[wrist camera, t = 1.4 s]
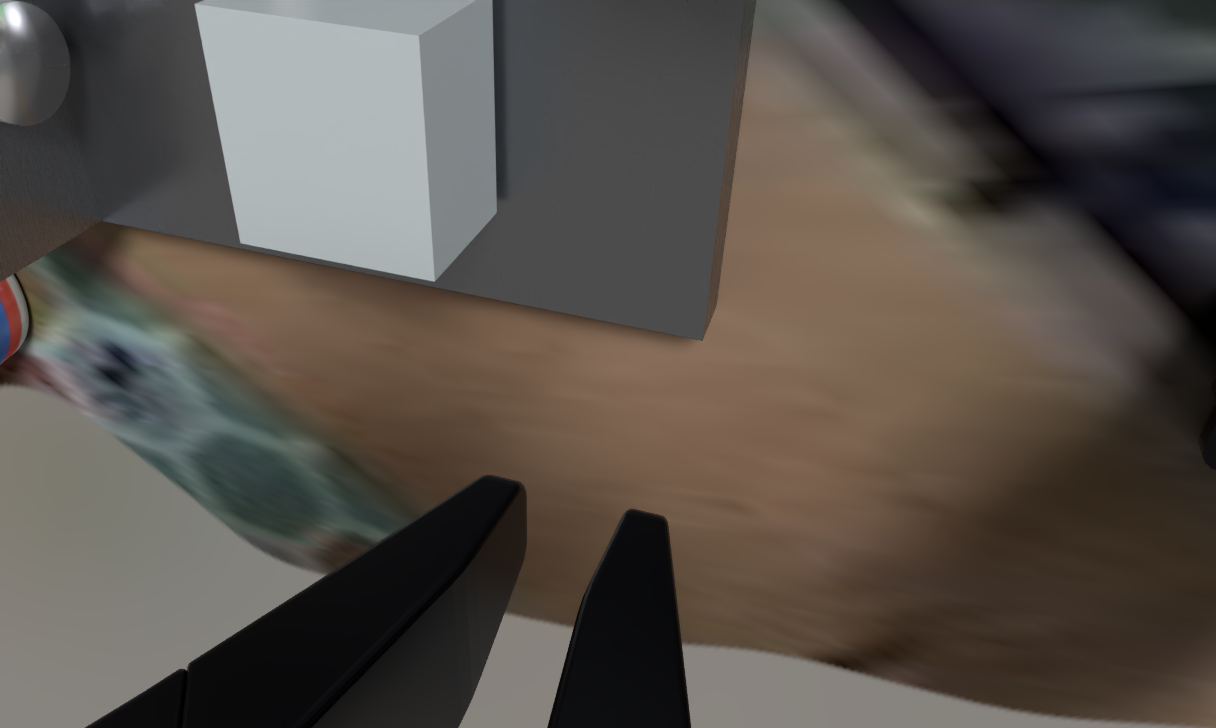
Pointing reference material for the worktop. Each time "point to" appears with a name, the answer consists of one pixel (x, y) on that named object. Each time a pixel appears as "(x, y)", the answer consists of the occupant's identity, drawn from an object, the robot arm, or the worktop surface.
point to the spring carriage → (356, 126)
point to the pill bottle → (12, 317)
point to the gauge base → (524, 140)
